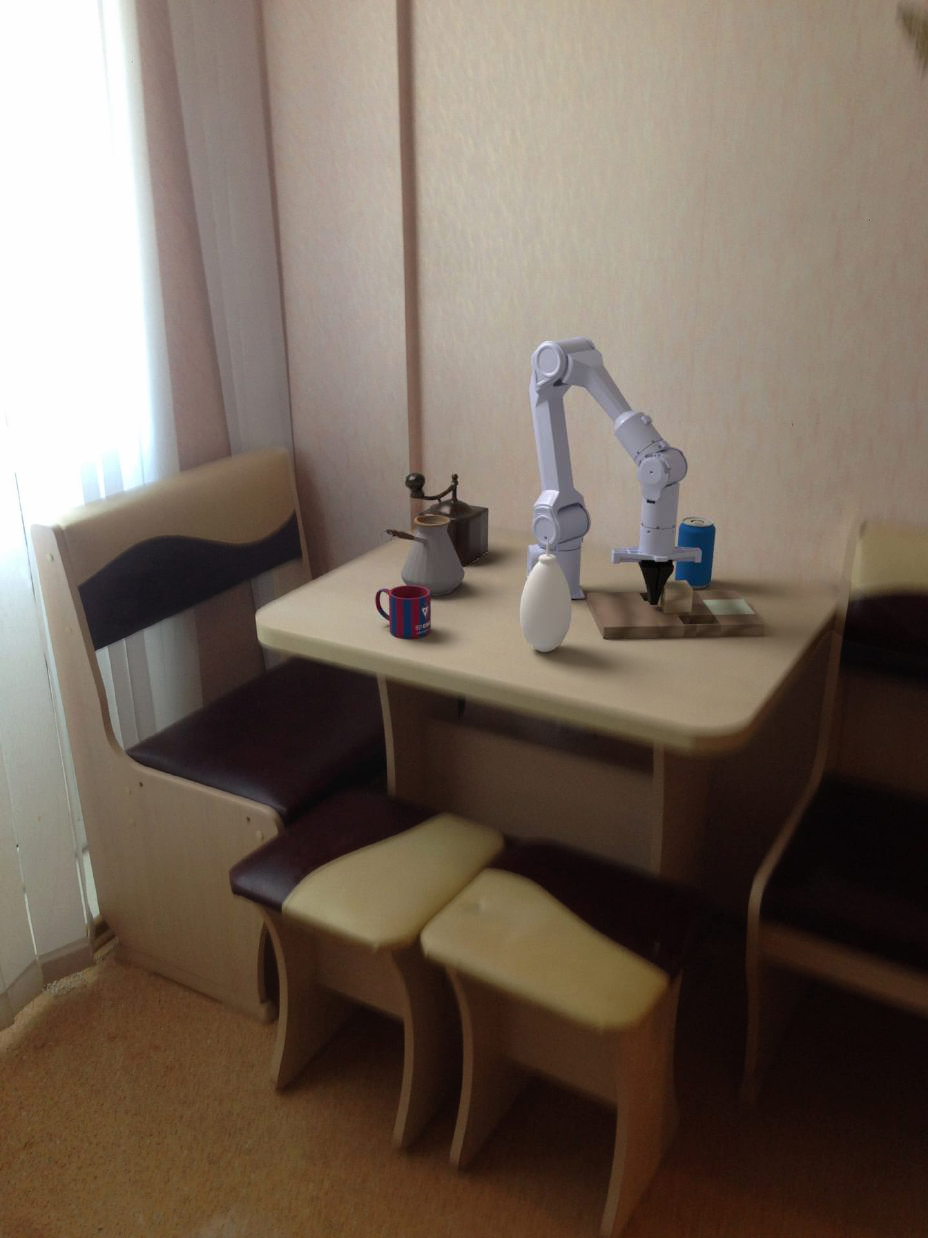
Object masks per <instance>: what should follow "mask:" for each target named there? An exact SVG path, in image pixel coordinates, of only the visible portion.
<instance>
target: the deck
mask: <svg viewBox="0 0 928 1238" xmlns="http://www.w3.org/2000/svg"><path fill="white" fill-rule="evenodd" d="M586 606H587V607H588V609H589V612H590V614H591V616H592V618H593V620H594V622H595V624H596V626H597V628H598V630H599V632H600V635H601V637H602V639H603V640H604V639H605V640H607V639H656V638H657V639H658V638H700V637H701V638H704V637H706V638H707V637H745V636H746V637H749V636H750V637H752V636H753V637H754V636H756V637H757V636H764V630H765V623H764V622H763V620H761V618H759V616H758V615H757V614H756V613H755V612H754V610H753V609H752V608H751V607H750V606H749V605H748V604H747V602H746V601H745V600H744V599H743V597H742V596H741V595H740V594H739V593H738V592H737V590H735V589H734V590H731V589H727V590H726V589H725V590H724V589H723V590H693V596H692V608H691V612H681V613H664V612H663V610H662V609H661V607H660V606H659V604H658V605H650V604H649V602H648V595H647V591H620V592H619V591H616V592H608V591H607V592H587V593H586Z"/></svg>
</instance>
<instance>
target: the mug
mask: <svg viewBox="0 0 928 1238" xmlns="http://www.w3.org/2000/svg"><path fill="white" fill-rule="evenodd" d="M382 593H385V594H387V595H388V613H389V614H388V613H387V612H386V611H384V609H383V607H382V604H381V594H382ZM431 597H432V596H431V592H430V590H429V589H428V588H426V587H422V586H417V585H406V584H405V585H398V586H396V587H395V586H394V587H393V588H391V589H388V588H380V589H379V590H377V592H376V593H375V598H374V599H375V601H374V602H375V606H376V610H377V612H378V613H379V614H380V616H382V617H383V618H384V619H385V620H386V621H389V624H388V625H389V634H391V635H392V636H394V637H395V638H398V639H406V640H407V639H408V640H410V639H411V640H413V639H421V638H424V637H426V636H428V635H429V634H430V633H431V632H432V622H431V621H432V620H431V618H432V616H431V615H432V614H431V613H432V612H431V611H432V610H431V609H432V608H431V607H432V605H431V604H432V603H431V599H432V598H431Z"/></svg>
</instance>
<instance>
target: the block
mask: <svg viewBox="0 0 928 1238" xmlns="http://www.w3.org/2000/svg"><path fill="white" fill-rule="evenodd" d="M693 591H694V589H692V587H691V586H690V585H689V584H688V582H687V581H686V580H679V581H675V580H667V582H666V584H665V586H664V588H663V590H662V593H661V595H660V598H659V602H658V604H659V606H660V607H661V609H662V610H663V612H664V613H681V612H691V608H692V596H693Z"/></svg>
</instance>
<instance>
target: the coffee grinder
mask: <svg viewBox="0 0 928 1238" xmlns="http://www.w3.org/2000/svg"><path fill="white" fill-rule="evenodd" d="M458 479H459V474H457V473H452V475H451V483H450V485H449V486H448V487H447V489H446V490H444V491H443V492H440V493H439V494H435V495H432V496H431V495H425V494H426V493H425V491H424V490H423V488H424V486H425V484H426V476H424V474H423V473H420V472H411V473H409V474H408V475H407V476H406V477H405V481H404V484H405V487H406V488H407V489H408V490H409V491H410V494H409V497H410V499H414V500H423V501H428V502H429V501H430V502H431V501H432V502H433V501H438V503H434V504H431V505H430V506H429V507H428V508H427V509H425V510H423V511H421V512H419V513H418V517H419V516H426V515H439V516H445V517H448V518H449V519H450V520H451V521H450V523H449V524H448V527H447V533H448V535H449V537H450V540H451V542H452V544H453V547H454V549H455V551H456V554H457V556H458V558H459V561H460V563H461V565H462V567H467V566H469V565H471V564H472V562H473V561H475V560H476V561H477V559H478V558H479V559H481V558H482V557H484V556H483V554H485V553H486V552H488V553H489V507H484V506H477V505H472V504H468V503H467V502H465V501H462V500H459V499H458V491H457V490H458V486H459V480H458ZM450 493H451V498H448V499H445V500H442V498H444V497H446V496H447V495H449V494H450ZM486 554H487V553H486ZM486 554H485V555H486ZM481 556H482V557H481ZM480 557H481V558H480ZM479 559H478V560H479ZM476 561H475V562H476ZM470 563H471V564H470ZM473 563H474V562H473ZM466 565H467V566H466Z"/></svg>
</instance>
